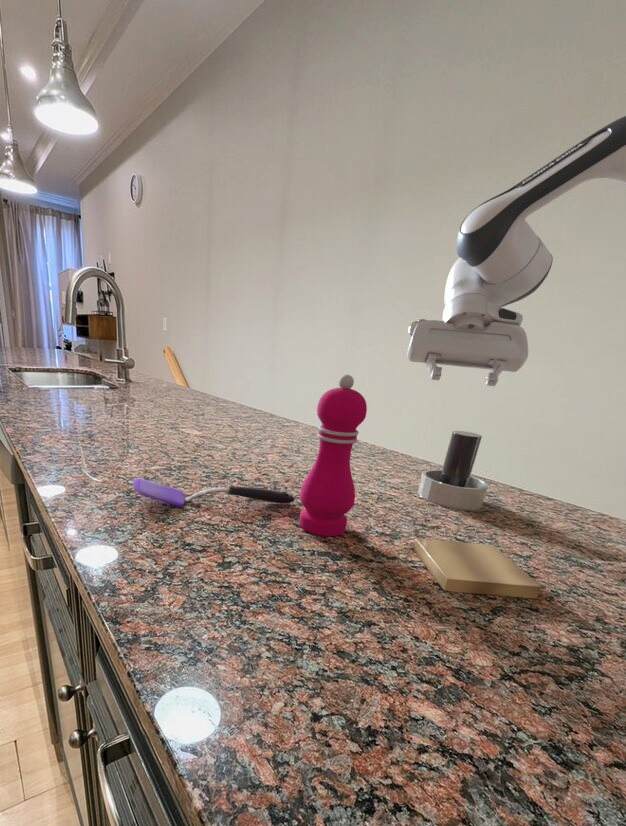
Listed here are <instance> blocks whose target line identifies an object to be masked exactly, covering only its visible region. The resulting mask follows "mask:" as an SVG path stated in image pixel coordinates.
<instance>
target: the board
mask: <svg viewBox="0 0 626 826" xmlns="http://www.w3.org/2000/svg"><path fill="white" fill-rule="evenodd" d="M412 549H413V551H414V552H415V554H416V555H417V556H418V558H419V559H420V560H421V562H422V563H423V564H424V566H425V567H426V568H427V570H428V571H429V572H430V573H431V575H432V576H433V578H434V579H435V581H436V582H437V583H438V584H439V586H440V587H441V589H442V590H443V591H444V592H453V593H464V594H465V593H467V594H477V595H488V596H489V595H490V596H498V597H499V596H500V597H511V598H522V599H524V598H525V599H534V600H535V599H538V597H539V595H540V591H541V589H542V586H541V585H540V584H538V582H537V581H535V579H533V578H532V577H531V576H530V575H529V574H527V573H526V571H524V570H523V569H522V568H521V567H519V566H518V564H516V563H515V562H514V561H513V560H511V559H510V558H509V557H508V556H507V555H506V554H505V553H504V552H502V551H501V550H500V549H499V548H498V547H497V546H496V545H495V544H487V543H486V544H485V543H473V542H463V541H453V540H440V539H429V538H415V539H414V544H413V547H412Z"/></svg>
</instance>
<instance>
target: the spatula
mask: <svg viewBox="0 0 626 826" xmlns="http://www.w3.org/2000/svg"><path fill="white" fill-rule="evenodd" d="M132 488H133V490H134V491H135V492H136V493H138V494H139V495H141V496H143V497H145V498H148V499H153V500H156V501H160V502H164V503H167V504H170V505H173V506H176V507H180V508H181V507H184V505H185V504H186V503H190V502H191V501H193V500H194V499H197V498H199V497H201V496H205V495H208V494H214V493H228V494H229V495H232V496H238V497H242V498H247V499H252V500H257V501H262V502H268V503H273V504H274V503H275V504H292V503H293V502H295V497H294V496H293V495H292V494H289V493H286V492H283V491H279V490H273V489H267V488H259V487H249V486H238V485H229V486H228V487H213V488H207V489H204V490H200V491H199V492H198V491H197V492H196V493H194V494H192V495H190V496H187V497H186V496H185V493H184V491H182V490H180V489H178V488H174V487H172V486H168V485H165V484H162V483H159V482H154V481H151V480H148V479H145V478H142V477H134V478H133V482H132Z"/></svg>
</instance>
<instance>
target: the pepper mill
mask: <svg viewBox="0 0 626 826" xmlns="http://www.w3.org/2000/svg"><path fill="white" fill-rule="evenodd" d="M354 383H355V380H354V378H353V376H352V375H350V374H343V375H342V376H341V377H340V378H339V380H338V386H339V387H333V388H331V389H329V390H327V391H326V392H324V393H323V394H322V395H321V396H320V398H319V399H318V402H317V406H316V415H317V417H318V420H319V421H320V423H321V425H318V427H317V430H318V432H317V433H316V437H317V438H318V439H319V445H318V451H317V455H316V458H315V461H314V463H313V465H312V467H311V469H310V470H309V472H308V474H307V475H306V477H305V478H304V479H303V482H302V484H301V487H300V491H299V500H300V501H299V502H300V503H301V504H302V506H303V507H304V508H303V509H302V510H301V511H300V514H299V521H298V522H299V526H300V527H301V529H303V530H304V531H306V532H308V533H311V534H313V535H317V536H322V537H336V536H337V537H338V536H341V535H343V534H344V533H345V532H346V528H347V527H346V526H347V523H348V517H347V516H346V514H347V513H348V512H350V511H351V510H352V508H353V507H354V505H355V501H356V489H355V485H354V480H353V477H352V472H351V471H352V470H351V453H352V449H353V445H354V444H355V443H357V442H358V435H359V433H360V432H359V430H357V428H358V427H359V426H361V424H362V423H363V422H364V421H365V419H366V417H367V411H368V406H367V401H366V399H365V397H364V395H362V393H360V392H359V391H357V390H355V389H353V386H354Z"/></svg>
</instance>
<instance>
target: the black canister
mask: <svg viewBox="0 0 626 826" xmlns="http://www.w3.org/2000/svg"><path fill="white" fill-rule="evenodd" d="M482 438H483V436H482V435H481V434H480V433H475V432H472V431H465V430H453V431H451V435H450V439H449V442H448V446H447V450H446V453H445V457H444V461H443V465H442V469H441V470H442V472H441V476H440V480H439V482H441V483H444V484H448V485H452V486H458V487H466V488H467V486H468V483H469V479H470V476H472V473H473V468H474V466H475V461H476V459H477V456H478V452H479V448H480V445H481V441H482Z"/></svg>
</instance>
